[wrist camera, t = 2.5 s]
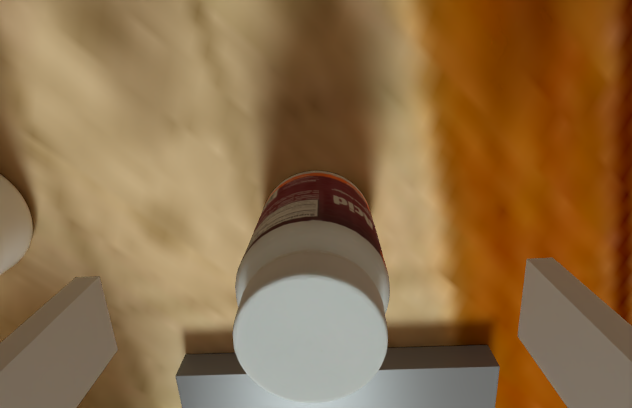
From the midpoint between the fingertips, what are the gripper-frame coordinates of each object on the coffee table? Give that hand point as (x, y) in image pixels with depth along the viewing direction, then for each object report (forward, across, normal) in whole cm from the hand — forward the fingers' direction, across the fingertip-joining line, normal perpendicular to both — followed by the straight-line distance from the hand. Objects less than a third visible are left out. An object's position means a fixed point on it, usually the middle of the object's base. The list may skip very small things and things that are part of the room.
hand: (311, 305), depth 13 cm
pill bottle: (+6, 0, +1) cm, 6 cm away
